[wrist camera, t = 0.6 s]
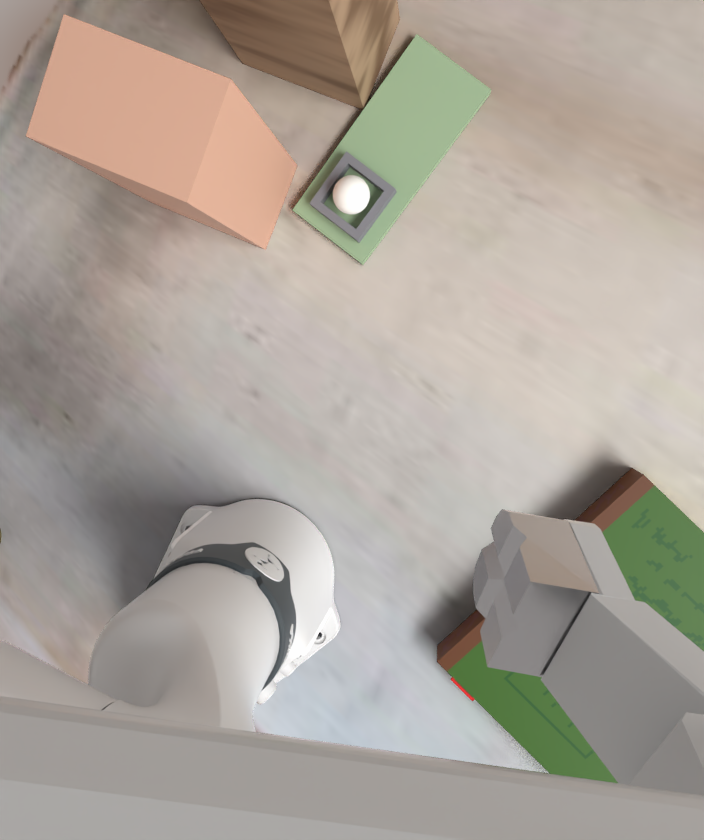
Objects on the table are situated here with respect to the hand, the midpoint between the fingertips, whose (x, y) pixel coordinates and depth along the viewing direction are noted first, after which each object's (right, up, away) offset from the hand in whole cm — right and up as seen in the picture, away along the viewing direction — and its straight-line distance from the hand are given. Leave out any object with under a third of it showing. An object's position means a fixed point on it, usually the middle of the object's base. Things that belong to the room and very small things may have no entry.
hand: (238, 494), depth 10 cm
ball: (+2, +21, +46) cm, 50 cm away
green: (+5, +25, +46) cm, 52 cm away
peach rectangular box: (-10, +23, +48) cm, 54 cm away
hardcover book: (+25, -18, +48) cm, 57 cm away
